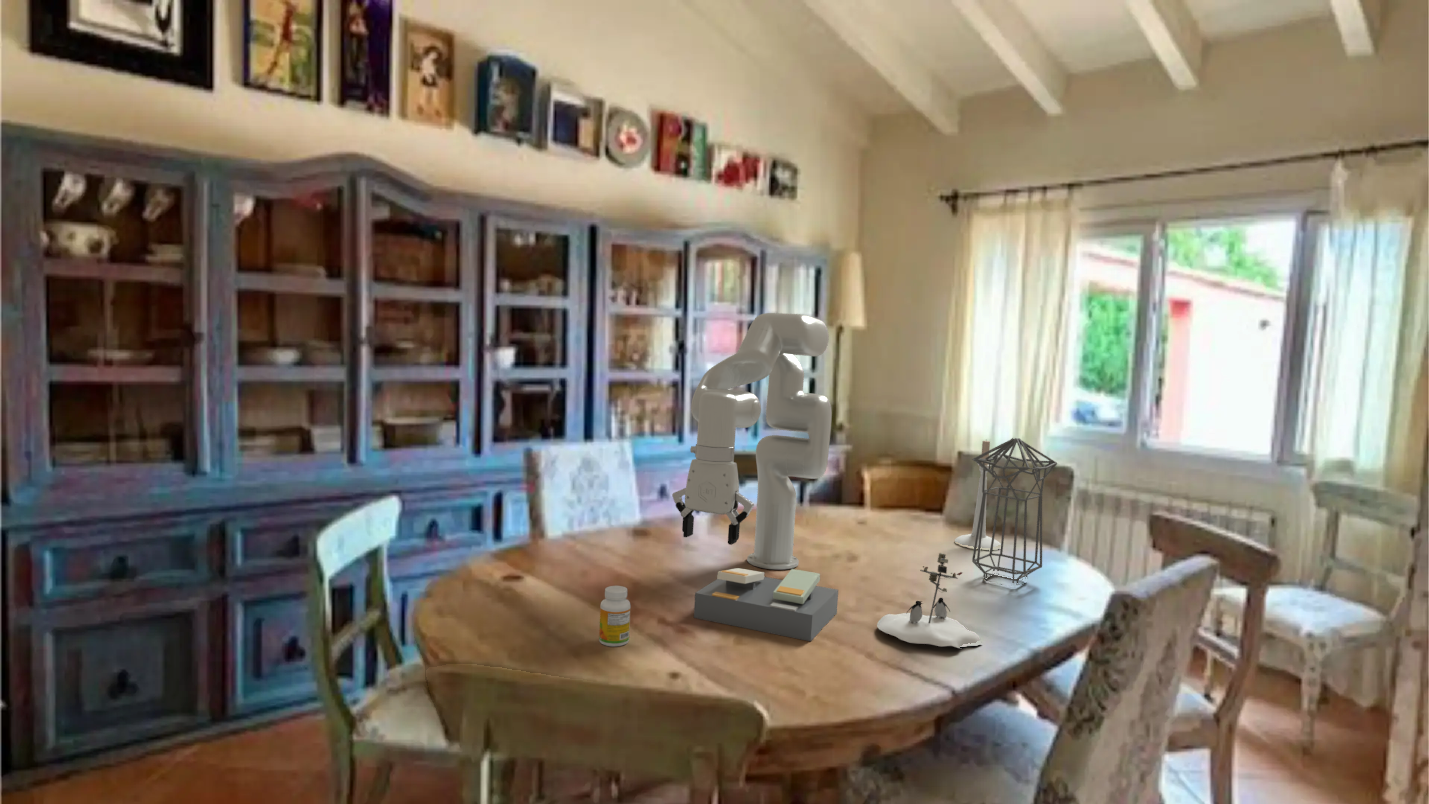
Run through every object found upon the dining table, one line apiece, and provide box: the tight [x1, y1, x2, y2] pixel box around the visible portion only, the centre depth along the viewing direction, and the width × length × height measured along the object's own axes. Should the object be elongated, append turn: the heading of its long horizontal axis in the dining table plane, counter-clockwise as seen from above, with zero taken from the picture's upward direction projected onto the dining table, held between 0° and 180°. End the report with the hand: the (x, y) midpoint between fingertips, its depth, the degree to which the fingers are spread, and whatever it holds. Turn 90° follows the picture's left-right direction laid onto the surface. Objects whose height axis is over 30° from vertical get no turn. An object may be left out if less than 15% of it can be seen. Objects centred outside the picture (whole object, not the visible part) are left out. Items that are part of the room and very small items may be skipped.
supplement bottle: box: [598, 585, 631, 648], centre depth 152 cm, size 5×5×10 cm
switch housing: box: [693, 576, 839, 642], centre depth 170 cm, size 18×24×6 cm
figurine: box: [876, 552, 981, 649], centre depth 164 cm, size 20×18×16 cm
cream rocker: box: [716, 567, 765, 584], centre depth 173 cm, size 11×6×2 cm, turn 157°
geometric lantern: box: [971, 437, 1058, 584], centre depth 201 cm, size 16×16×35 cm
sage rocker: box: [773, 568, 821, 604], centre depth 168 cm, size 11×6×2 cm, turn 156°
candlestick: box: [954, 439, 1001, 548], centre depth 238 cm, size 13×13×30 cm
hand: (709, 539), depth 169 cm, fingers open, 9 cm apart
